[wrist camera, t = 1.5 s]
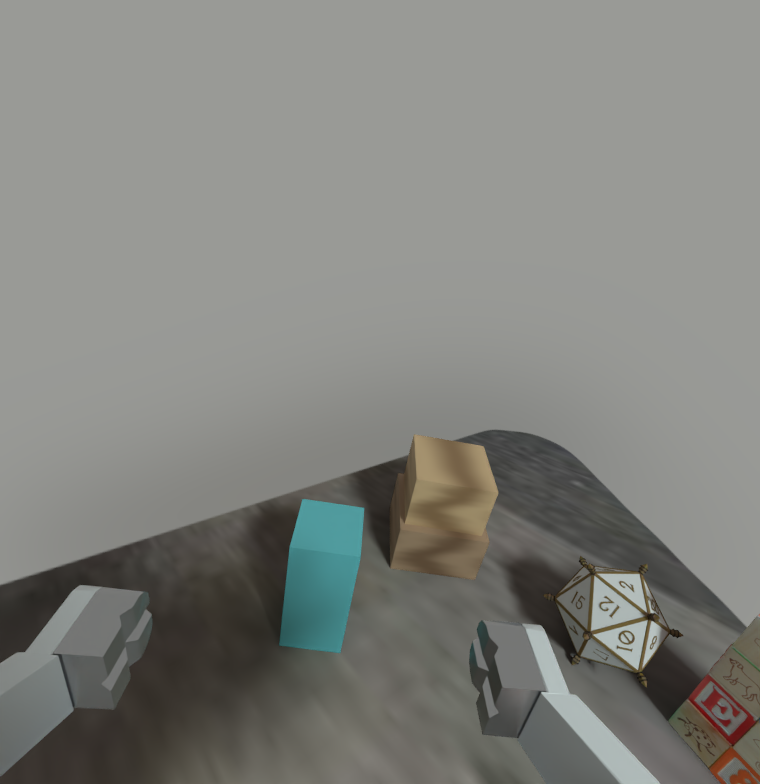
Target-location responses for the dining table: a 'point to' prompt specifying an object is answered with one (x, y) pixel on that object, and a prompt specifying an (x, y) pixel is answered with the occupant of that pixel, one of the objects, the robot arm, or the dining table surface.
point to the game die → (612, 617)
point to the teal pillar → (321, 575)
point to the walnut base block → (432, 545)
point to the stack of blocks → (727, 713)
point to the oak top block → (448, 486)
